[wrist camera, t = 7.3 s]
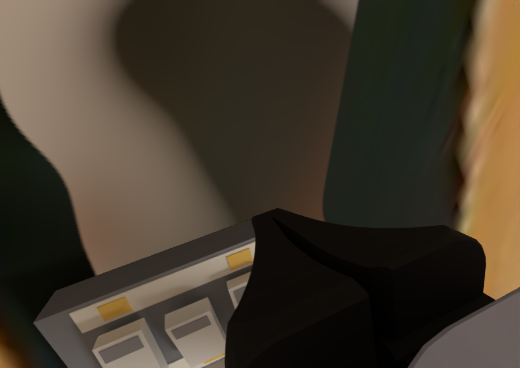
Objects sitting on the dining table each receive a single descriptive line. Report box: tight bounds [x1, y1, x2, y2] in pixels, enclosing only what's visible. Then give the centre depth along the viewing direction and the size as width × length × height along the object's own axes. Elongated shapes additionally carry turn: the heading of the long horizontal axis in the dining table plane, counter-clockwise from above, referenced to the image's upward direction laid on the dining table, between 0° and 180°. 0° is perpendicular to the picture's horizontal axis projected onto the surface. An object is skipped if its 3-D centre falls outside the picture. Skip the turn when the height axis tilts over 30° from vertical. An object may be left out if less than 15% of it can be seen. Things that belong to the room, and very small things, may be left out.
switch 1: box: [92, 318, 169, 368], centre depth 17 cm, size 5×3×1 cm, turn 14°
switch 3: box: [227, 272, 251, 309], centre depth 19 cm, size 5×3×1 cm, turn 14°
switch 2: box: [165, 297, 226, 368], centre depth 18 cm, size 5×3×1 cm, turn 14°
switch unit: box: [33, 219, 255, 368], centre depth 20 cm, size 10×18×3 cm, turn 104°
